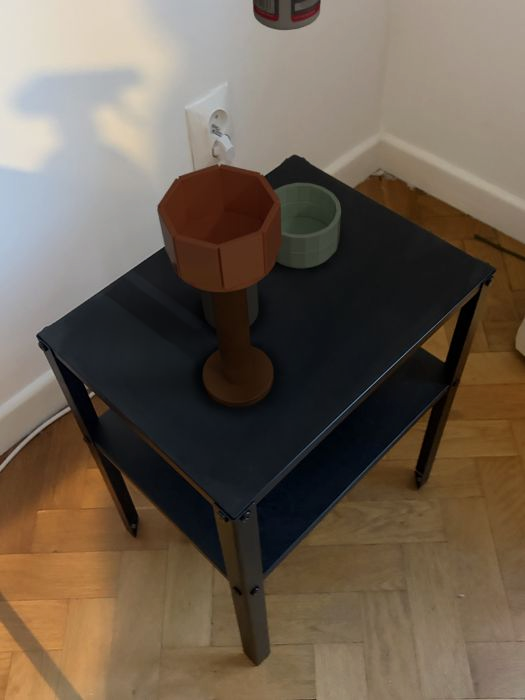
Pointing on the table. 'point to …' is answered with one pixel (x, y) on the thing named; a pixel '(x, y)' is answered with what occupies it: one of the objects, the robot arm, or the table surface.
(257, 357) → the stand
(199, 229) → the raised bowl
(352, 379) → the table surface
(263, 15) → the pill bottle
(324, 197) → the back bowl
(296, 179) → the table surface
